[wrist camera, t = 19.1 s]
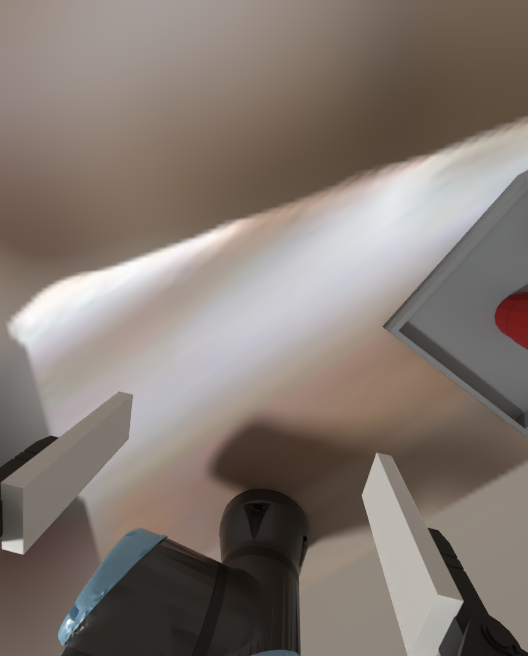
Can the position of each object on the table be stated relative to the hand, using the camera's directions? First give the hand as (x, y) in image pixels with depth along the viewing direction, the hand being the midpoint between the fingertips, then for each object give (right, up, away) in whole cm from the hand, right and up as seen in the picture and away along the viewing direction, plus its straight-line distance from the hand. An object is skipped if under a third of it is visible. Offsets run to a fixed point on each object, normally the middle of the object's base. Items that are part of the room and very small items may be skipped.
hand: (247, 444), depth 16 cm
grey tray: (+34, +8, +24) cm, 43 cm away
